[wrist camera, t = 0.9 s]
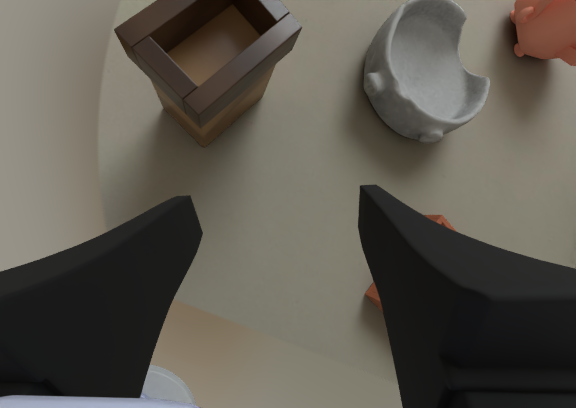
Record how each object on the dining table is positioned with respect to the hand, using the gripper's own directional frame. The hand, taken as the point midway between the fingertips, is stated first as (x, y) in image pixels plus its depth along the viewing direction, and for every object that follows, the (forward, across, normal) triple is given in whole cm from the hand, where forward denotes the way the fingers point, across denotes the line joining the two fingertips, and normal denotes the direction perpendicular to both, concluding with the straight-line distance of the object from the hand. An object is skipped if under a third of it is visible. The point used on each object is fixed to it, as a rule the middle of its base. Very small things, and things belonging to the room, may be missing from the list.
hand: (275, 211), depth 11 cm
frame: (+11, +4, -6) cm, 13 cm away
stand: (+16, +7, -2) cm, 18 cm away
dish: (+25, -13, -1) cm, 29 cm away
